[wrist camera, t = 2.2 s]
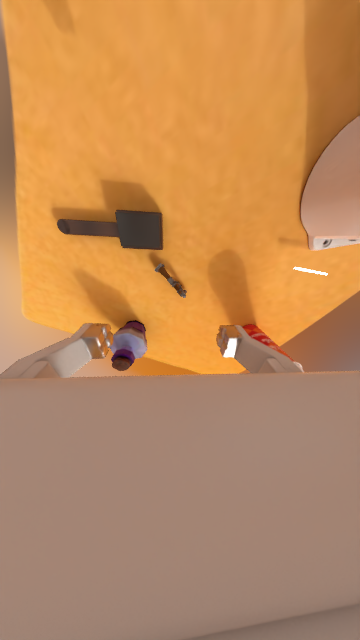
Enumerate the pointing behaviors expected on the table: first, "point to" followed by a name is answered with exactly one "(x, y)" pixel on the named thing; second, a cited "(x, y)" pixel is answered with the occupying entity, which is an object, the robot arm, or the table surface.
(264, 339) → the coffee cup
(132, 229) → the mallet
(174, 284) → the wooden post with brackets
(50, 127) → the table surface
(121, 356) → the potion bottle
